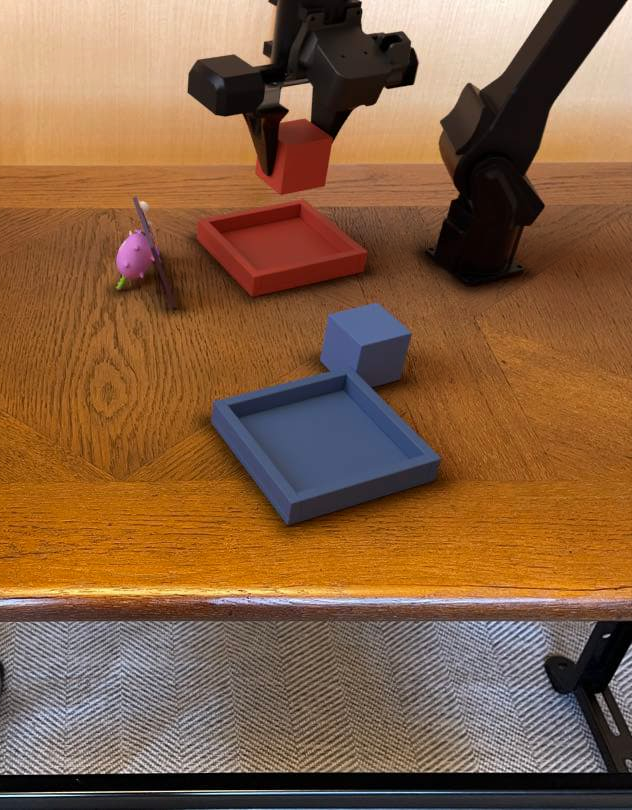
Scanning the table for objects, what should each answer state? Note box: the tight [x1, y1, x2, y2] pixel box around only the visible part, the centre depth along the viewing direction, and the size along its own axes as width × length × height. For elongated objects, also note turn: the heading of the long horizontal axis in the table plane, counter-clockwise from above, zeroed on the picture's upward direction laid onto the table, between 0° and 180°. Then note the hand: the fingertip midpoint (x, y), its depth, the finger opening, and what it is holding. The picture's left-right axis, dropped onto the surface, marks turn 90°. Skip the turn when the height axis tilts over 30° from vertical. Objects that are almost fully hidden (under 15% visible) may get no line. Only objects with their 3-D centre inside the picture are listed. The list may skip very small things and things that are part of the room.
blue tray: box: [210, 366, 442, 526], centre depth 65 cm, size 12×11×2 cm
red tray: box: [196, 198, 369, 298], centre depth 86 cm, size 12×11×2 cm
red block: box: [254, 118, 333, 196], centre depth 81 cm, size 4×4×4 cm
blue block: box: [319, 302, 413, 388], centre depth 72 cm, size 4×4×4 cm
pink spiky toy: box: [115, 196, 177, 310], centre depth 81 cm, size 7×5×9 cm
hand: (290, 169), depth 81 cm, fingers closed on red block, 4 cm apart
